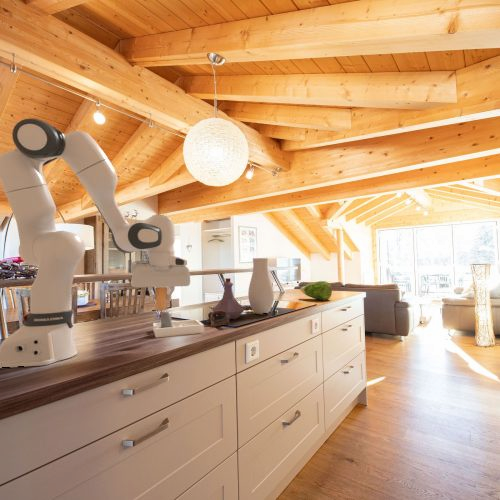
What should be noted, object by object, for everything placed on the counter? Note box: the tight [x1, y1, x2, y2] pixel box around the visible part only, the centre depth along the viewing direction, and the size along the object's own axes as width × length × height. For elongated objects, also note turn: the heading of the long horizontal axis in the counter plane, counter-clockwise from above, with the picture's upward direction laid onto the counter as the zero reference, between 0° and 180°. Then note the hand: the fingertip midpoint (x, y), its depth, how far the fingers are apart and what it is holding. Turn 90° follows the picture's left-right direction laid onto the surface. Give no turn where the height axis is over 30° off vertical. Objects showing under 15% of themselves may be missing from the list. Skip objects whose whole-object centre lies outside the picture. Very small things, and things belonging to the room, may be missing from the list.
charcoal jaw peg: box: [160, 310, 172, 328], centre depth 128 cm, size 4×4×8 cm
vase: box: [247, 257, 275, 315], centre depth 176 cm, size 14×14×30 cm
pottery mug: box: [207, 310, 230, 328], centre depth 144 cm, size 12×10×8 cm
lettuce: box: [300, 280, 333, 301], centre depth 233 cm, size 14×23×13 cm, turn 48°
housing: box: [152, 319, 205, 338], centre depth 129 cm, size 18×13×4 cm
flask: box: [212, 277, 246, 321], centre depth 164 cm, size 16×16×20 cm
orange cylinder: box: [154, 287, 168, 312], centre depth 116 cm, size 4×4×8 cm
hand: (161, 299), depth 116 cm, fingers closed on orange cylinder, 4 cm apart
